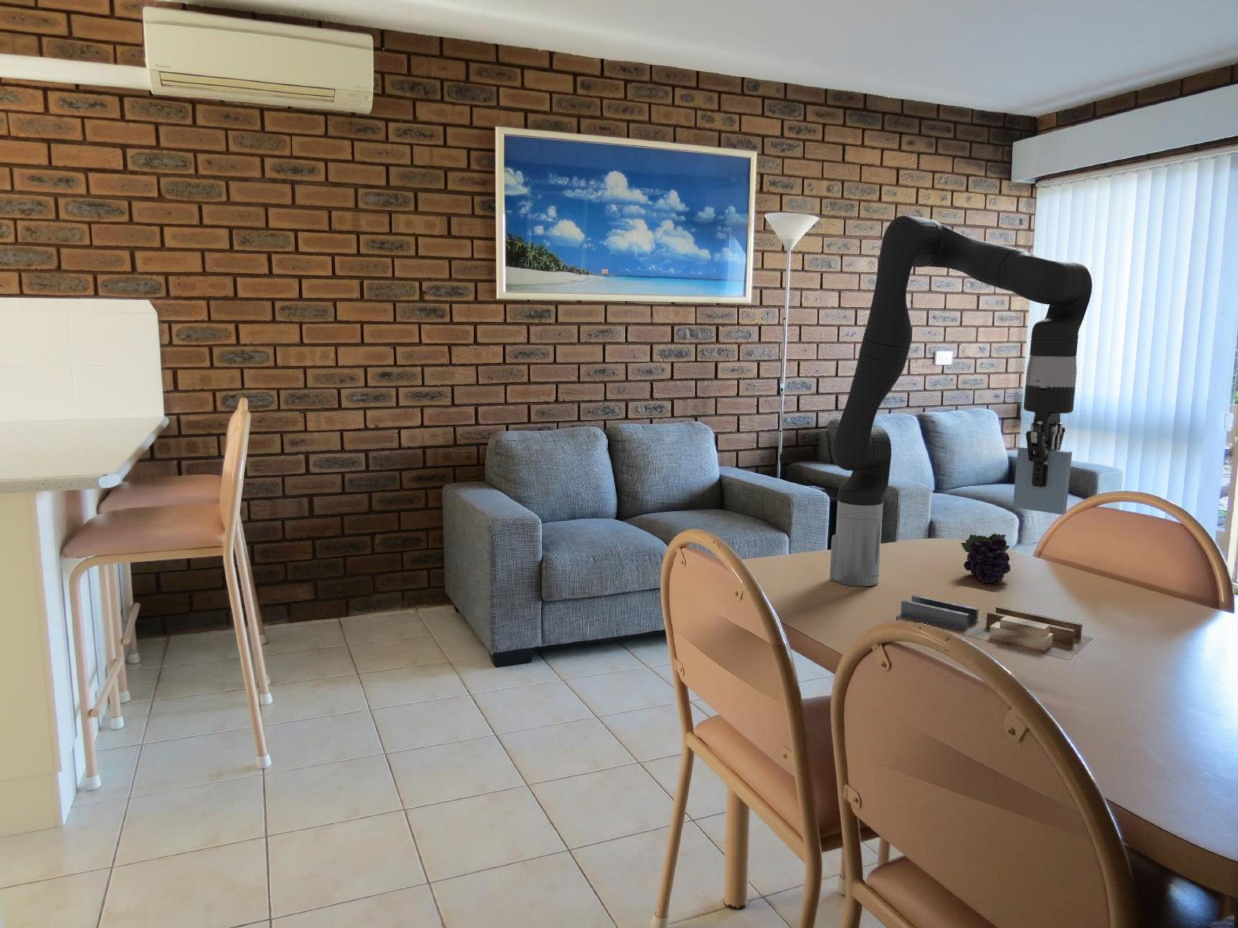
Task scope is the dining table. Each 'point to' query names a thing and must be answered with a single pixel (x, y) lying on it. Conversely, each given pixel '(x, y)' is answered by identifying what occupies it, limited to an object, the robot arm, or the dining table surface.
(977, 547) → the fruit
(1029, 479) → the tall sheet
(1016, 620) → the offcut stack
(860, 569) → the robot arm
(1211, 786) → the dining table surface
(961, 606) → the stand
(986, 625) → the offcut rack
